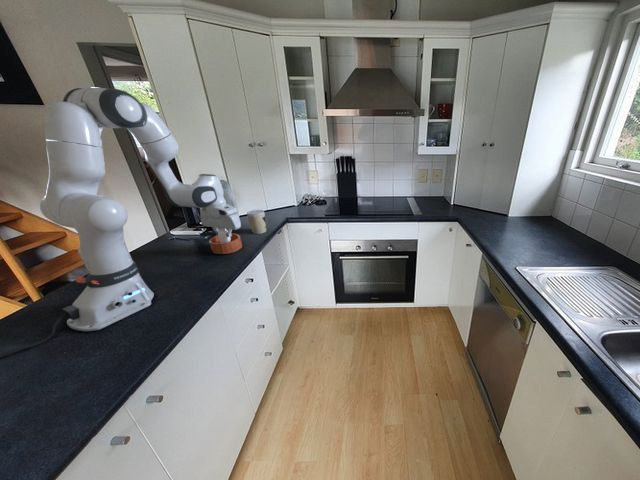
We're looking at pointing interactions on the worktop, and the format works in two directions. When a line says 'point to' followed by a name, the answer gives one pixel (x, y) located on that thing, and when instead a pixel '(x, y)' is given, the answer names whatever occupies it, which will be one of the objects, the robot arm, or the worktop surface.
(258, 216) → the coffee cup
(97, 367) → the worktop surface
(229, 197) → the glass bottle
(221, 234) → the pepper shaker
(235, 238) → the bowl
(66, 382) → the worktop surface
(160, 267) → the worktop surface
